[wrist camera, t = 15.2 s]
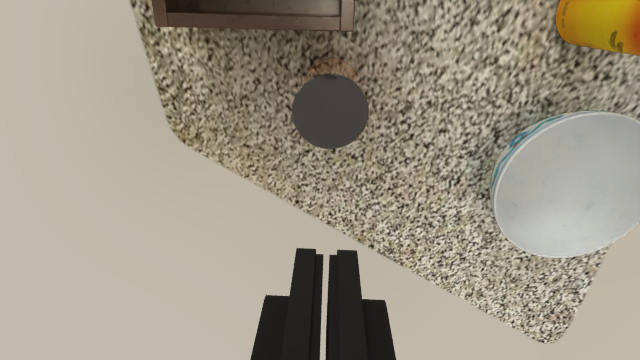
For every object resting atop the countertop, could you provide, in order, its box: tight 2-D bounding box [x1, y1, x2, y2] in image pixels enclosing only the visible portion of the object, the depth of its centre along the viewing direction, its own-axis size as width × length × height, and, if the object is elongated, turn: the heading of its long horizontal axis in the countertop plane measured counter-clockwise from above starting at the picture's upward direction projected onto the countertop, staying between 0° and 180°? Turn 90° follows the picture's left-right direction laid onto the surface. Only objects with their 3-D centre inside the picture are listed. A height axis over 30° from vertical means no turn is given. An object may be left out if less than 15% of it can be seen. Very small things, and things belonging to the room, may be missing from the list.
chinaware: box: [490, 111, 640, 258], centre depth 38 cm, size 15×15×8 cm
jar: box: [292, 59, 369, 149], centre depth 34 cm, size 6×6×10 cm
